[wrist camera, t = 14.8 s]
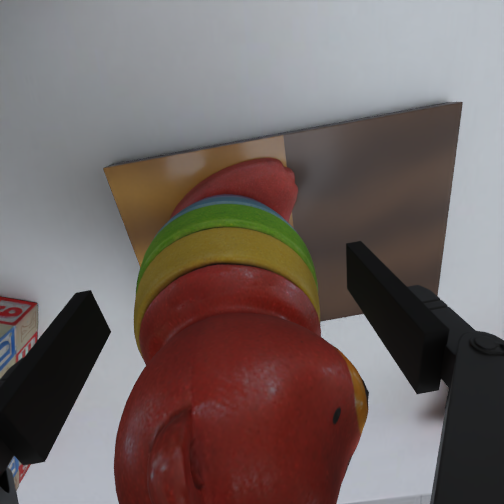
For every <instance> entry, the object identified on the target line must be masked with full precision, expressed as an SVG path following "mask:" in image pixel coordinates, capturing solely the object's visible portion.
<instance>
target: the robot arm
mask: <svg viewBox="0 0 504 504" xmlns="http://www.w3.org/2000/svg"><path fill="white" fill-rule="evenodd" d="M346 266H347V289H348V291H349V292H350V294H351V295H352V297H353V298H354V300H355V301H356V303H357V304H358V306H359V307H360V309H361V310H362V312H363V313H364V315H365V316H366V318H367V319H368V321H369V322H370V324H371V325H372V327H373V328H374V330H375V332H376V333H377V335H378V336H379V338H380V339H381V341H382V342H383V344H384V345H385V347H386V348H387V350H388V351H389V353H390V354H391V356H392V357H393V359H394V360H395V362H396V363H397V365H398V366H399V368H400V369H401V371H402V372H403V374H404V375H405V377H406V378H407V380H408V381H409V383H410V384H411V386H412V387H413V389H414V390H415V392H416V393H417V394H420V393H426V392H431V391H437V390H439V386H440V380H441V379H442V380H443V381H444V382H445V384H446V385H447V386H448V388H449V391H448V396H447V401H446V406H445V415H444V421H443V427H442V434H441V440H440V446H439V452H438V458H437V464H436V470H435V477H434V483H433V489H432V495H431V501H430V504H504V340H502V339H500V338H499V337H497V336H495V335H492V334H489V333H486V332H480V331H475V330H474V329H473V328H472V327H471V326H470V325H469V324H468V323H466V322H465V321H464V320H463V319H462V318H461V317H460V316H459V315H458V314H456V313H455V312H454V311H453V310H452V309H451V308H450V307H448V306H447V305H446V304H445V303H444V302H443V301H442V300H440V298H439V297H438V296H436V295H435V294H434V293H433V292H432V291H431V290H429V289H427V288H424V287H422V286H420V285H414V286H408V287H407V286H406V285H405V284H404V283H403V282H402V281H401V280H400V279H399V278H398V277H397V276H396V275H395V274H394V273H393V272H392V271H391V270H390V269H389V268H388V267H387V266H386V265H385V264H384V263H383V262H382V261H381V260H380V259H379V258H378V257H377V256H376V255H375V254H374V253H373V252H372V251H371V250H370V249H369V248H368V247H367V246H366V245H365V244H364V243H363V242H362V241H357V242H352V243H346ZM110 333H111V331H110V329H109V326H108V324H107V322H106V320H105V318H104V316H103V314H102V312H101V310H100V308H99V306H98V304H97V302H96V300H95V298H94V296H93V294H92V292H91V290H89V291H84V292H79V293H75V295H74V296H73V297H72V298H71V300H70V301H69V302H68V303H67V305H66V306H65V307H64V308H63V310H62V311H61V312H60V313H59V314H58V316H57V317H56V318H55V319H54V321H53V322H52V323H51V324H50V326H49V327H48V328H47V329H46V331H45V332H44V333H43V334H42V336H41V337H40V338H39V339H38V341H37V342H36V343H35V344H34V346H33V347H32V348H31V349H30V351H29V352H28V353H27V354H26V356H25V357H24V358H21V359H20V360H19V361H17V362H16V363H15V364H14V365H13V366H11V367H10V368H9V369H8V370H7V371H6V373H5V374H4V375H3V376H2V377H1V379H0V504H19V503H18V498H17V493H16V488H15V483H14V478H13V473H12V471H11V470H10V469H9V468H8V465H9V463H10V462H11V460H12V458H13V457H14V456H15V457H16V458H17V459H18V461H19V462H20V463H21V464H22V465H23V466H24V465H29V464H35V463H40V462H45V460H46V458H47V456H48V454H49V452H50V450H51V449H52V447H53V445H54V443H55V441H56V439H57V437H58V435H59V433H60V431H61V429H62V427H63V425H64V423H65V421H66V419H67V417H68V415H69V413H70V411H71V409H72V407H73V405H74V403H75V401H76V399H77V398H78V396H79V394H80V392H81V390H82V388H83V386H84V384H85V382H86V380H87V378H88V376H89V374H90V372H91V370H92V368H93V366H94V364H95V362H96V360H97V358H98V356H99V354H100V352H101V350H102V348H103V347H104V345H105V343H106V341H107V339H108V337H109V335H110Z"/></svg>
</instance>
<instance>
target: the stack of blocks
mask: <svg viewBox="0 0 504 504" xmlns="http://www.w3.org/2000/svg"><path fill="white" fill-rule="evenodd" d="M37 328H38V305H37V303H33V302H28V301H23V300H17V299H11V298H5V297H0V379H1V377H2V376H3V375H4V374H5V373H6V371H7V370H8V369H9V368H10V367H11V366H13V365H14V364H15V363H16V362H17V361H19V360H20V359H21V358H24V357H25V356H26V354H27V353H28V352H29V351H30V349H31V348H32V347H33V346H34V344H35V343H36V342H37ZM30 465H31V464H29V465H24V466H23V465H22V464H21V463H20V462H19V461H18V459H17V458H16V457H15V456H14V457H13V458H12V460H11V462H10V463H9V465H8V468H9V469H10V470H11V471H12V473H13V478H14V483H15V488H16V491H17V489H18V487H19V484H20V482H21V480H22V479H23V477H24V475H25V474H26V472H27V470H28V468H29V467H30Z"/></svg>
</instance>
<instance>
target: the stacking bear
mask: <svg viewBox="0 0 504 504" xmlns="http://www.w3.org/2000/svg"><path fill="white" fill-rule="evenodd" d="M297 194H298V187H297V185H296V184H295V175H294V172H293V171H292V170H291V169H290V168H288V167H284V166H283V164H282V162H281V161H280V160H278V159H273V158H262V159H254V160H249V161H244V162H241V163H238V164H235V165H232V166H229V167H226V168H224V169H222V170H220V171H218V172H216V173H214V174H212V175H211V176H209V177H207V178H206V179H204V180H203V181H201V182H200V183H199V184H197V185H196V186H195V187H194V188H192V189H191V190H190V191H189V192H188V193H187V194H186V195H185V196H184V198H183V199H182V200H181V201H180V202H179V203H178V205H177V206H176V208H175V209H174V211H173V212H172V215H171V217H170V220H169V221H168V222H167V223H166V224H165V225H164V226H163V227H162V228H161V229H160V230H159V232H158V233H157V234H156V236H155V237H154V239H153V241H152V242H151V244H150V245H149V247H148V249H147V251H146V253H145V255H144V258H143V261H142V264H141V268H140V271H139V275H138V280H137V287H136V299H135V307H134V333H135V339H136V343H137V347H138V349H139V351H140V354H141V356H142V358H143V359H144V362H145V364H146V367H145V368H144V370H143V371H142V373H141V374H140V376H139V378H138V380H137V381H136V383H135V385H134V387H133V389H132V391H131V393H130V396H129V398H128V400H127V402H126V405H125V408H124V411H123V414H122V417H121V420H120V424H119V428H118V432H117V437H116V444H115V457H114V475H115V485H116V493H117V497H118V501H119V504H336V503H337V499H338V495H339V491H340V487H341V484H342V481H343V479H344V476H345V473H346V471H347V468H348V465H349V462H350V460H351V457H352V455H353V453H354V451H355V449H356V447H357V445H358V442H359V440H360V437H361V434H362V430H363V428H364V425H365V422H366V419H367V414H368V395H369V392H368V390H367V388H366V386H365V383H364V381H363V380H362V378H361V377H360V375H359V373H358V371H357V369H356V368H355V367H354V366H353V364H352V363H351V362H350V361H349V360H348V359H347V358H346V357H345V356H344V355H343V353H342V352H340V351H339V350H338V349H337V348H336V347H334V346H332V345H331V344H329V343H328V342H327V341H326V340H324V339H323V338H321V328H320V305H319V297H318V283H317V277H316V272H315V268H314V264H313V261H312V258H311V256H310V253H309V251H308V249H307V247H306V245H305V243H304V242H303V240H302V239H301V237H300V236H299V235H298V233H297V232H296V231H295V230H294V228H293V227H292V226H291V225H290V224H289V219H290V215H291V212H292V210H293V207H294V205H295V202H296V199H297Z"/></svg>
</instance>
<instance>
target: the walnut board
mask: <svg viewBox="0 0 504 504" xmlns="http://www.w3.org/2000/svg"><path fill="white" fill-rule="evenodd" d="M462 103H463V102H448V103H442V104H437V105H431V106H426V107H420V108H415V109H409V110H404V111H399V112H393V113H388V114H382V115H377V116H371V117H366V118H361V119H355V120H350V121H344V122H339V123H333V124H328V125H322V126H317V127H312V128H306V129H301V130H295V131H290V132H284V133H279V134H273V135H268V136H263V137H257V138H252V139H246V140H241V141H235V142H230V143H225V144H219V145H214V146H208V147H203V148H197V149H192V150H186V151H181V152H176V153H170V154H165V155H159V156H154V157H148V158H143V159H137V160H132V161H127V162H121V163H116V164H112V165H109V166H107V167H105V168H103V170H104V172H105V175H106V178H107V180H108V183H109V186H110V188H111V191H112V193H113V196H114V199H115V201H116V204H117V207H118V209H119V212H120V215H121V217H122V220H123V223H124V225H125V228H126V230H127V233H128V236H129V238H130V241H131V244H132V246H133V249H134V252H135V254H136V257H137V260H138V262H139V265H140V268H141V264H142V261H143V258H144V255H145V253H146V251H147V249H148V247H149V245H150V244H151V242H152V241H153V239H154V237H155V236H156V234H157V233H158V232H159V230H160V229H161V228H162V227H163V226H164V225H165V224H166V223H167V222H168V221H169V220H170V217H171V215H172V212H173V211H174V209H175V208H176V206H177V205H178V203H179V202H180V201H181V200H182V199H183V198H184V196H185V195H186V194H187V193H188V192H189V191H190V190H191V189H192V188H194V187H195V186H196V185H197V184H199V183H200V182H201V181H203V180H204V179H206V178H207V177H209V176H211V175H212V174H214V173H216V172H218V171H220V170H222V169H224V168H226V167H229V166H232V165H235V164H238V163H241V162H244V161H249V160H254V159H262V158H273V159H278V160H280V161H281V162H282V164H283V166H284V167H288V168H290V169H291V170H292V171H293V172H294V175H295V184H296V185H297V187H298V194H297V199H296V202H295V205H294V207H293V210H292V212H291V215H290V219H289V224H290V225H291V226H292V227H293V228H294V230H295V231H296V232H297V233H298V235H299V236H300V237H301V239H302V240H303V242H304V243H305V245H306V247H307V249H308V251H309V253H310V256H311V258H312V261H313V264H314V268H315V272H316V277H317V283H318V297H319V305H320V321H326V320H331V319H337V318H342V317H348V316H353V315H359V314H364V313H363V312H362V310H361V309H360V307H359V306H358V304H357V303H356V301H355V300H354V298H353V297H352V295H351V294H350V292H349V291H348V289H347V266H346V243H352V242H357V241H362V242H363V243H364V244H365V245H366V246H367V247H368V248H369V249H370V250H371V251H372V252H373V253H374V254H375V255H376V256H377V257H378V258H379V259H380V260H381V261H382V262H383V263H384V264H385V265H386V266H387V267H388V268H389V269H390V270H391V271H392V272H393V273H394V274H395V275H396V276H397V277H398V278H399V279H400V280H401V281H402V282H403V283H404V284H405V285H406V286H407V287H408V286H414V285H420V286H422V287H424V288H427V289H429V290H431V291H432V292H433V293H434V294H435V295H436V296H437V295H438V287H439V280H440V272H441V264H442V257H443V249H444V241H445V234H446V226H447V218H448V211H449V203H450V195H451V188H452V180H453V172H454V165H455V157H456V149H457V142H458V134H459V126H460V119H461V111H462Z"/></svg>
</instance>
